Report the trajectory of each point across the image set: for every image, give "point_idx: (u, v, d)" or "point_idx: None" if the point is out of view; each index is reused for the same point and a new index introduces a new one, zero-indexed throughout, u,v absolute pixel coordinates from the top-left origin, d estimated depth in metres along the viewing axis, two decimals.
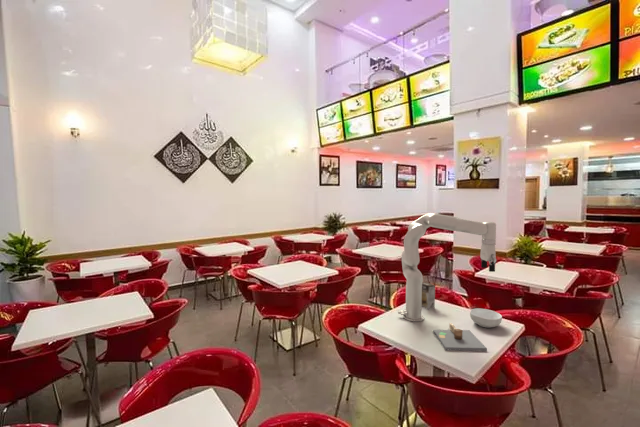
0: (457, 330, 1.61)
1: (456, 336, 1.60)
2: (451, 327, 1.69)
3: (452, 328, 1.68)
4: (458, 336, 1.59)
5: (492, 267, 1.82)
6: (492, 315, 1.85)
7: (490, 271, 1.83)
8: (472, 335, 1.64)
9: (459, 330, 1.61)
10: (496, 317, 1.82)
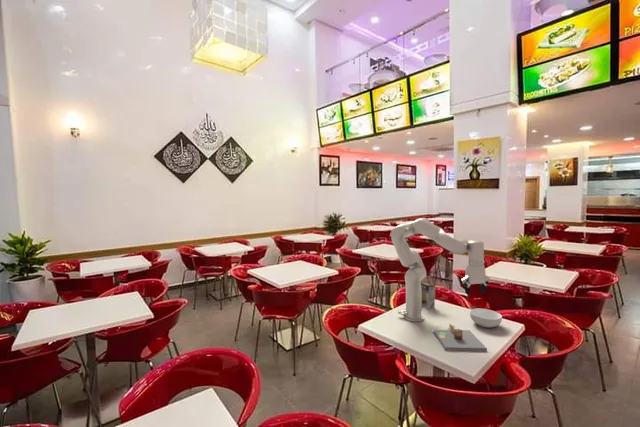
0: (457, 330, 1.61)
1: (456, 336, 1.60)
2: (451, 327, 1.69)
3: (452, 328, 1.68)
4: (458, 336, 1.59)
5: (465, 289, 1.68)
6: (492, 315, 1.85)
7: (466, 293, 1.69)
8: (472, 335, 1.64)
9: (459, 330, 1.61)
10: (496, 317, 1.82)
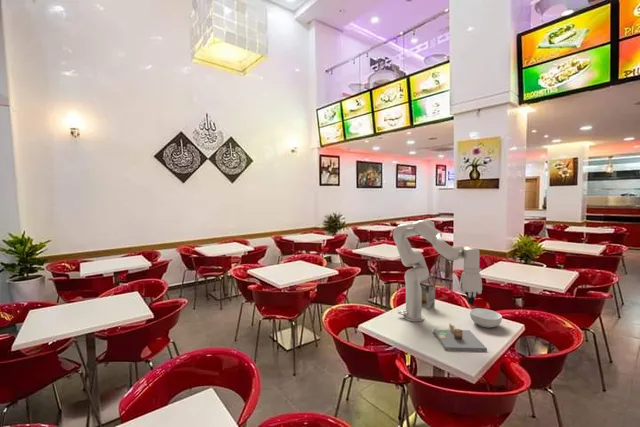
0: (457, 330, 1.61)
1: (456, 336, 1.60)
2: (451, 327, 1.69)
3: (452, 328, 1.68)
4: (458, 336, 1.59)
5: (468, 299, 1.64)
6: (492, 315, 1.85)
7: None
8: (472, 335, 1.64)
9: (459, 330, 1.61)
10: (496, 317, 1.82)
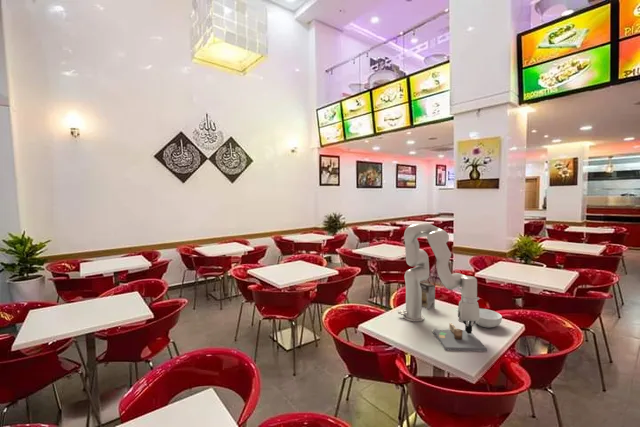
0: (457, 330, 1.61)
1: (456, 336, 1.60)
2: (451, 327, 1.69)
3: (452, 328, 1.68)
4: (458, 336, 1.59)
5: (465, 327, 1.65)
6: (492, 315, 1.85)
7: (466, 331, 1.66)
8: (472, 335, 1.64)
9: (459, 330, 1.61)
10: (496, 317, 1.82)
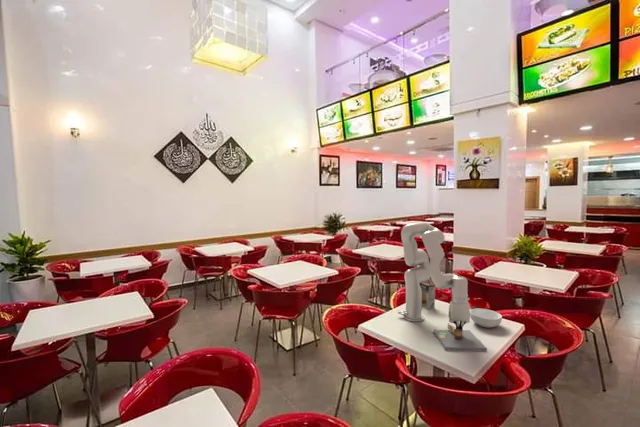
0: (457, 330, 1.61)
1: (456, 336, 1.60)
2: (450, 327, 1.69)
3: (451, 328, 1.68)
4: (458, 336, 1.59)
5: (456, 327, 1.66)
6: (492, 315, 1.85)
7: None
8: (472, 335, 1.64)
9: (459, 330, 1.61)
10: (496, 317, 1.82)
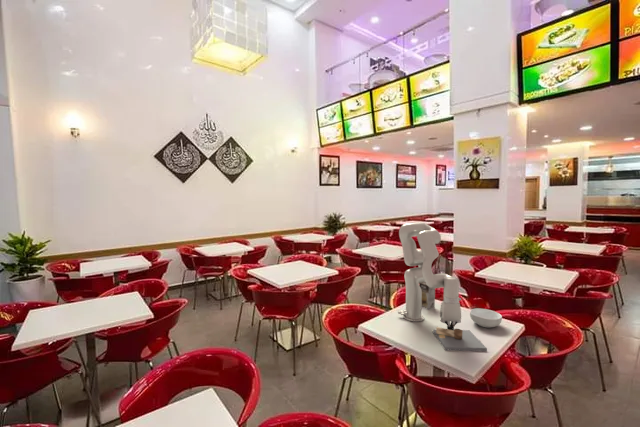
0: (458, 330, 1.60)
1: (460, 337, 1.59)
2: (442, 331, 1.65)
3: (445, 331, 1.64)
4: (461, 335, 1.60)
5: (447, 327, 1.66)
6: (492, 315, 1.85)
7: None
8: (472, 335, 1.64)
9: (458, 330, 1.61)
10: (496, 317, 1.82)
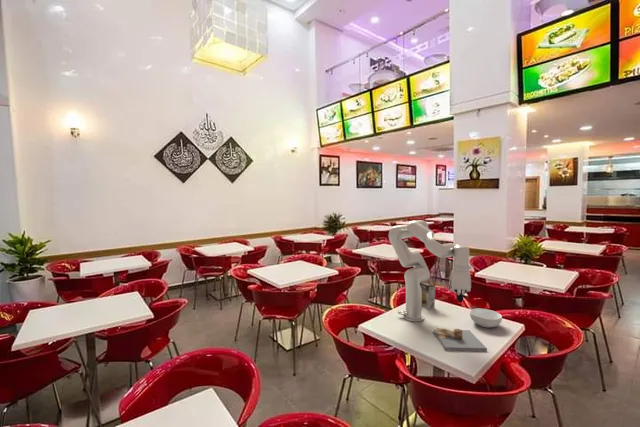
0: (458, 330, 1.60)
1: (460, 337, 1.59)
2: (442, 331, 1.65)
3: (444, 331, 1.64)
4: (461, 335, 1.60)
5: None
6: (492, 315, 1.85)
7: (457, 300, 1.67)
8: (472, 335, 1.64)
9: (458, 330, 1.61)
10: (496, 317, 1.82)
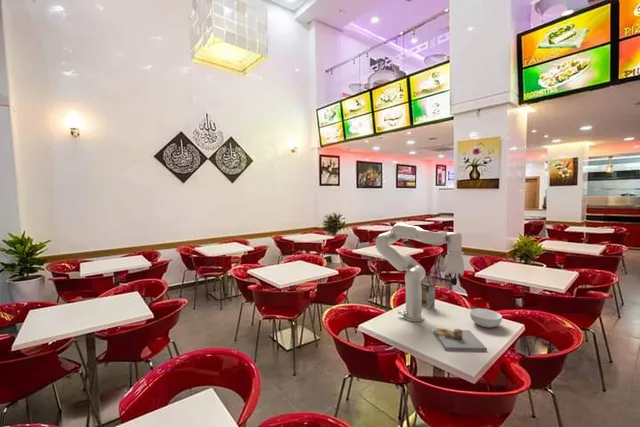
0: (458, 330, 1.60)
1: (460, 337, 1.59)
2: (442, 331, 1.65)
3: (444, 331, 1.64)
4: (461, 335, 1.60)
5: (451, 280, 1.78)
6: (492, 315, 1.85)
7: None
8: (472, 335, 1.64)
9: (458, 330, 1.61)
10: (496, 317, 1.82)
